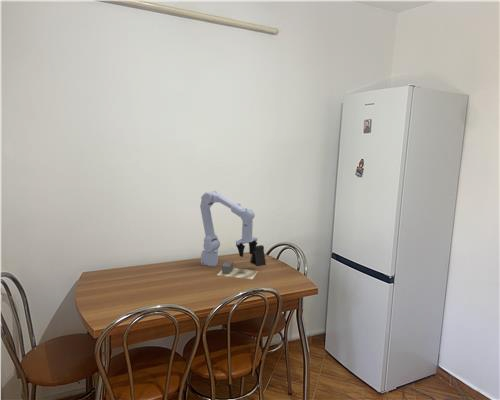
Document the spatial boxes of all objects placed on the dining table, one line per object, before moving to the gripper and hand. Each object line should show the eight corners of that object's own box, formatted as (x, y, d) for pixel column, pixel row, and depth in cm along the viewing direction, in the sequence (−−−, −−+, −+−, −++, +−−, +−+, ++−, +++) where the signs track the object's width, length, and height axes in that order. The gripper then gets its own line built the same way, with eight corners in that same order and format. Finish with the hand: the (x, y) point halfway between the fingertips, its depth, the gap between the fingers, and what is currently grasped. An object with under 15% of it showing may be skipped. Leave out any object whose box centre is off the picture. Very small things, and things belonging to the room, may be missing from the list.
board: (216, 276, 198) (216, 275, 198) (224, 268, 211) (224, 267, 211) (252, 281, 193) (252, 279, 193) (258, 272, 207) (258, 270, 207)
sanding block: (221, 273, 200) (222, 265, 199) (226, 269, 208) (226, 261, 207) (228, 274, 199) (229, 266, 199) (232, 269, 207) (233, 262, 206)
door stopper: (266, 266, 218) (266, 247, 216) (257, 268, 215) (258, 248, 213) (257, 262, 225) (258, 243, 224) (249, 263, 222) (250, 244, 220)
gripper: (242, 235, 196) (241, 259, 198) (261, 231, 206) (260, 254, 208) (233, 232, 202) (233, 256, 203) (252, 229, 211) (252, 251, 213)
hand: (246, 255), depth 206 cm, fingers open, 7 cm apart
